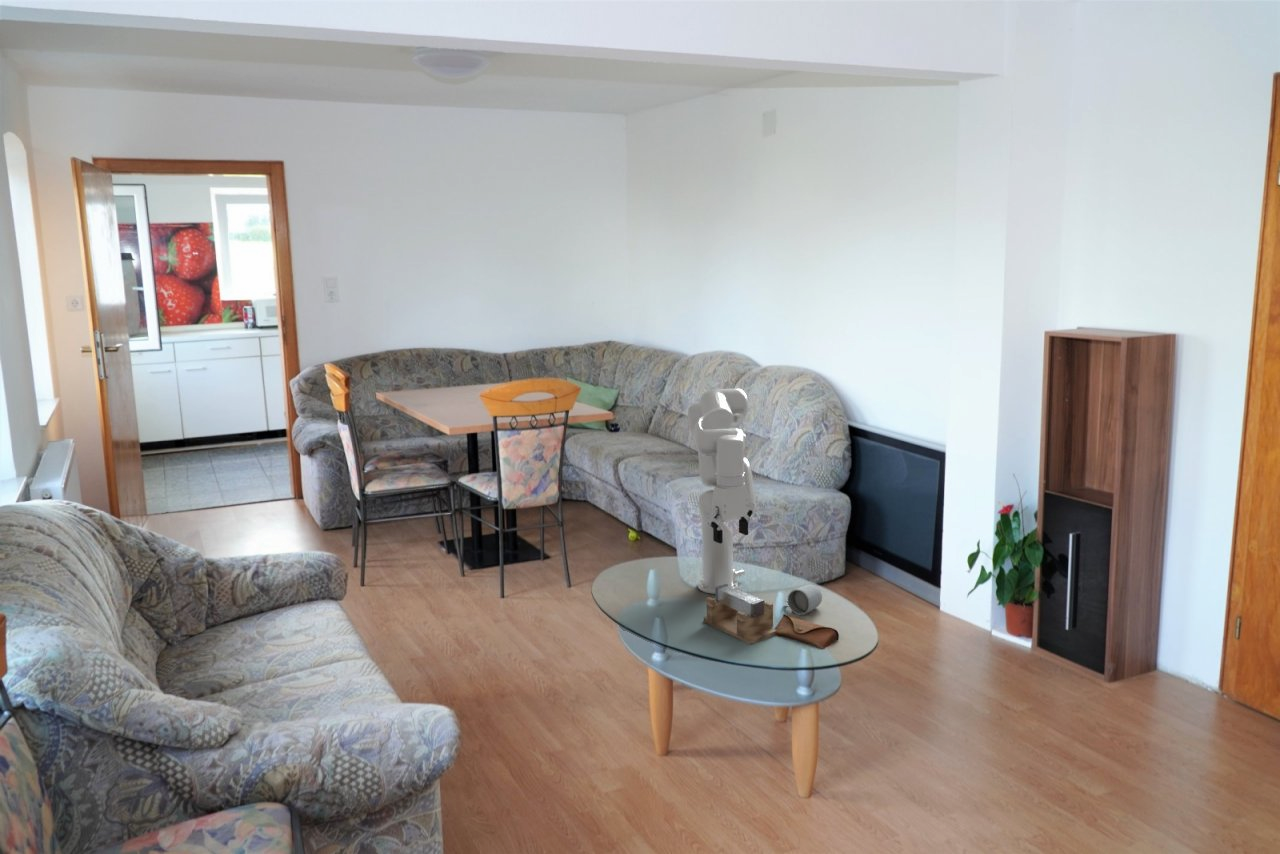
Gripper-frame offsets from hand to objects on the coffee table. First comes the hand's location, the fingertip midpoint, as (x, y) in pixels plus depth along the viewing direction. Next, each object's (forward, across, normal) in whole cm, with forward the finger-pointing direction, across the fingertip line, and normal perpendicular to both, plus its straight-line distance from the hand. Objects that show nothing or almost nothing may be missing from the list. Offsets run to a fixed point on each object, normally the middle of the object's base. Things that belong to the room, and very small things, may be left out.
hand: (730, 537), depth 287 cm
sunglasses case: (+27, -10, +19) cm, 34 cm away
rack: (+26, 0, +3) cm, 27 cm away
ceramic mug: (+27, -23, +6) cm, 36 cm away
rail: (+20, 0, +3) cm, 20 cm away
